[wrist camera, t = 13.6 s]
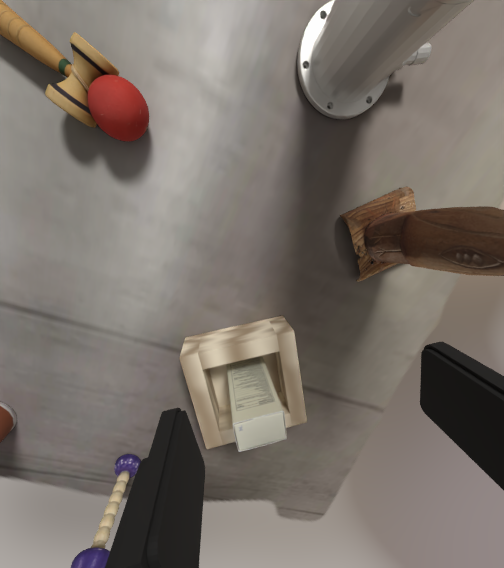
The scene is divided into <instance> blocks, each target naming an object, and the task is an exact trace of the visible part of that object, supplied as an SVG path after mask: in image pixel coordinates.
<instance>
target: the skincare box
mask: <svg viewBox="0 0 504 568" xmlns="http://www.w3.org/2000/svg"><path fill="white" fill-rule="evenodd" d="M226 366H227V376H228V385H229V395H230V404H231V413H232V424H233V430H234V435H235V440H236V444H237V448H238V451H239V452H241V451H245V450H249V449H253V448H257V447H260V446H264V445H268V444H271V443H275V442H278V441H281V440H285V439H287V435H286V423H285V414H284V410H283V408H282V405H281V403H280V400H279V398H278V395H277V393H276V390H275V388H274V385H273V382H272V380H271V377H270V375H269V372H268V369H267V367H266V364H265V362H264V359H263V357H256V358H251V359H247V360H242V361H238V362H234V363H230V364H227V365H226Z"/></svg>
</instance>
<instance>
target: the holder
mask: <svg viewBox="0 0 504 568" xmlns="http://www.w3.org/2000/svg"><path fill="white" fill-rule="evenodd" d="M256 357H263V359H264V362H265V364H266V367H267V369H268V372H269V375H270V377H271V380H272V382H273V385H274V388H275V390H276V393H277V395H278V398H279V400H280V403H281V405H282V408H283V410H284V414H285V423H286V428H287V427H291V426H295V425H298V424H302V423H306V422H307V418H306V411H305V404H304V397H303V390H302V383H301V376H300V369H299V362H298V355H297V348H296V341H295V334H294V331H293V329H292V328H291V326H290V325H289V324H288V322H287V321H286V319H285V318H284V317H283V316H279V317H274V318H270V319H265V320H261V321H256V322H252V323H248V324H243V325H239V326H234V327H230V328H225V329H221V330H216V331H212V332H208V333H203V334H199V335H194V336H190V337H185V341H184V344H183V348H182V351H181V355H180V362H181V365H182V369H183V372H184V375H185V379H186V382H187V385H188V389H189V392H190V395H191V399H192V402H193V405H194V409H195V412H196V416H197V419H198V422H199V426H200V429H201V432H202V436H203V439H204V442H205V446H206V449H210V448H213V447H217V446H221V445H224V444H228V443H232V442H236V440H235V435H234V430H233V424H232V413H231V404H230V395H229V385H228V376H227V366H226V365H227V364H230V363H234V362H238V361H242V360H247V359H251V358H256Z"/></svg>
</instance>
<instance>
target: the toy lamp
mask: <svg viewBox="0 0 504 568" xmlns="http://www.w3.org/2000/svg"><path fill="white" fill-rule="evenodd" d="M140 462H141V461H140V459H139V458H138V457H137V456H135V455H132V454H126V455H123V456H121V457H119V458H118V459H117V461H116V463H115V473H116V475H117V476H118V479H117V483H116V485H115V486H114V489H113V494H112V495H111V496H110V499H109V504H108V505H107V507H106V509H105V511H104V517H103V518H102V520H101V523H100V525H99V530H98V531H97V533H96V535H95V537H94V542H93V545H92V546H91V548H88V549H86V550H83V551H82V552H80V553H79V554H78V555H77V556H76V557H75V559H74V560H73V562H72V565H71V568H105V566H106V563H107V560H108V557H109V554H110V551H108V550H106V549H105V544H106V542H107V541H108V538H109V535H110V529H111V528H112V526H113V523H114V517H115V516H116V514H117V512H118V509H119V504H120V502H121V501H122V497H123V493H124V491H125V489H126V484H127V482H128V480H129V478H131V477H133V476H134V475H135V474H136V473H137V470H138V467H139V465H140Z"/></svg>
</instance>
